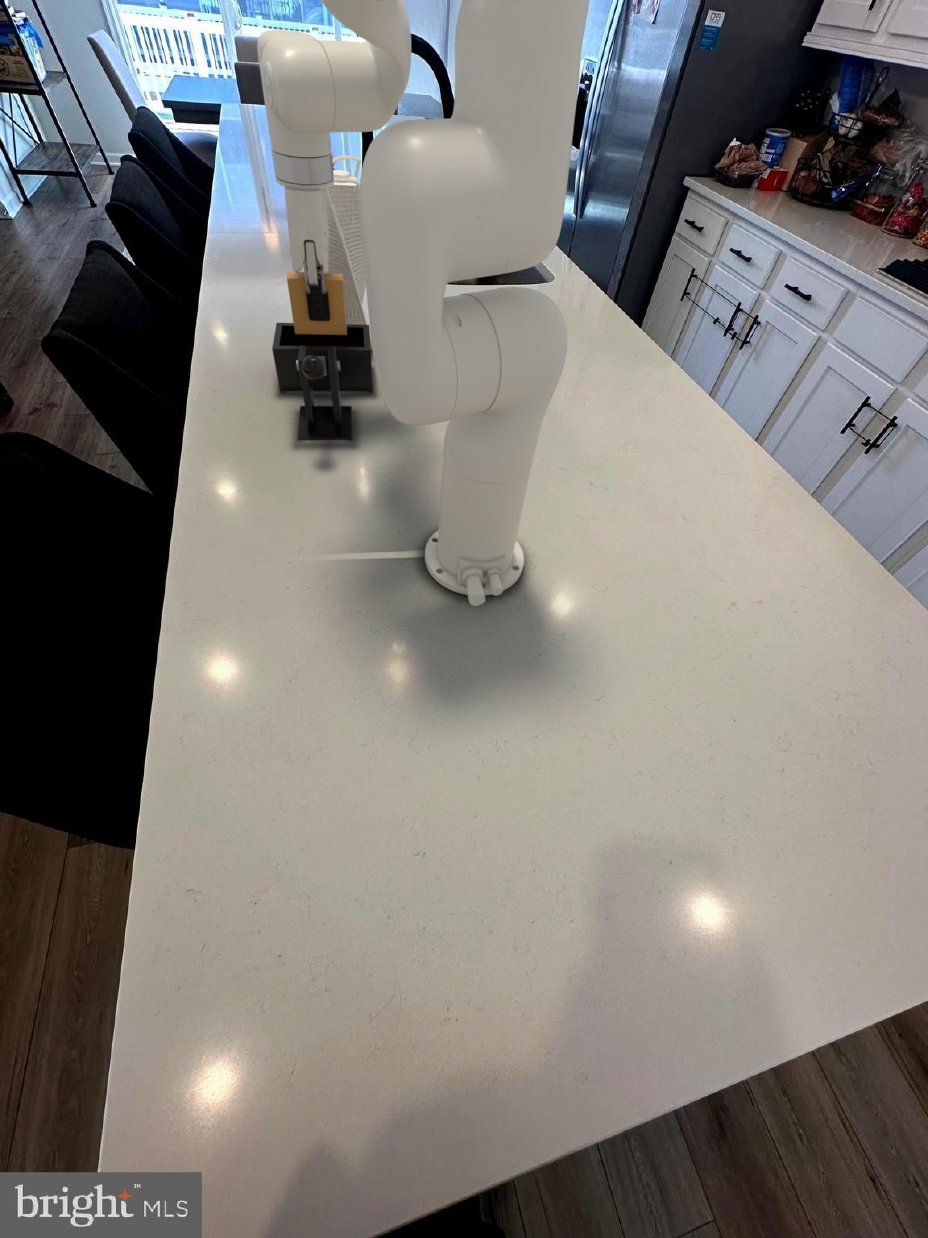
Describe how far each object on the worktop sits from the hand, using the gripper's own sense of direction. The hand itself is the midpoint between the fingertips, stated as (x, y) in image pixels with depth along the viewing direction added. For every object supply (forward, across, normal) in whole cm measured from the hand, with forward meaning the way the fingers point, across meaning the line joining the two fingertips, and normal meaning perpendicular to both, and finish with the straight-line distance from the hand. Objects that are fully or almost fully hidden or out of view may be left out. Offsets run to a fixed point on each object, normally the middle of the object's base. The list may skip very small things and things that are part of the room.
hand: (320, 314), depth 87 cm
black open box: (+11, 0, 0) cm, 11 cm away
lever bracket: (+11, +14, 0) cm, 18 cm away
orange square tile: (+3, 0, 0) cm, 3 cm away
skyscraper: (+11, -12, +4) cm, 17 cm away
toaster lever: (+1, +18, 0) cm, 18 cm away
